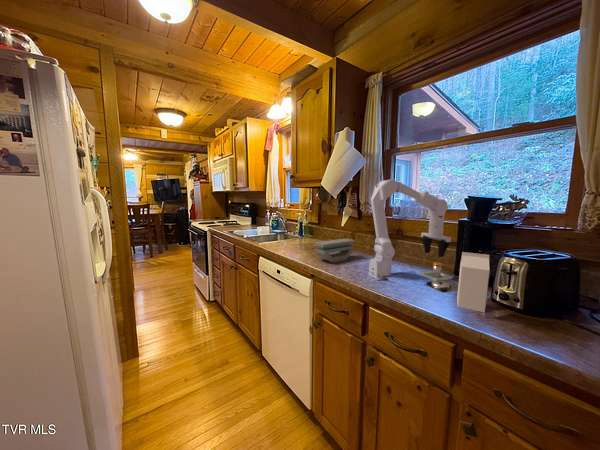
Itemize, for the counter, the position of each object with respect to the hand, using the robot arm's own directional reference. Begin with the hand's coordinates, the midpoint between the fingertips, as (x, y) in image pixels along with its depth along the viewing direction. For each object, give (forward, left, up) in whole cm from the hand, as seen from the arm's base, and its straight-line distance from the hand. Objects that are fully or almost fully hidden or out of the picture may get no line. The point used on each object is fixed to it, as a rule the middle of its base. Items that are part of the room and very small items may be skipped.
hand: (433, 254), depth 111 cm
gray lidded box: (-31, +40, -11) cm, 51 cm away
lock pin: (-3, -5, -10) cm, 11 cm away
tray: (-3, -4, -10) cm, 12 cm away
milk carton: (-16, -29, -11) cm, 35 cm away
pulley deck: (-9, -14, -10) cm, 20 cm away
